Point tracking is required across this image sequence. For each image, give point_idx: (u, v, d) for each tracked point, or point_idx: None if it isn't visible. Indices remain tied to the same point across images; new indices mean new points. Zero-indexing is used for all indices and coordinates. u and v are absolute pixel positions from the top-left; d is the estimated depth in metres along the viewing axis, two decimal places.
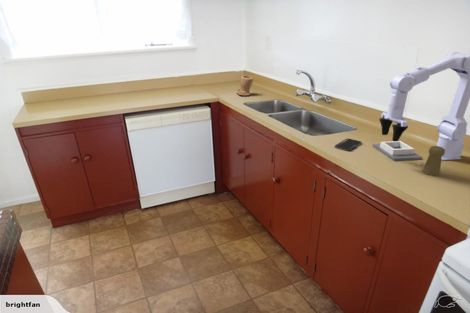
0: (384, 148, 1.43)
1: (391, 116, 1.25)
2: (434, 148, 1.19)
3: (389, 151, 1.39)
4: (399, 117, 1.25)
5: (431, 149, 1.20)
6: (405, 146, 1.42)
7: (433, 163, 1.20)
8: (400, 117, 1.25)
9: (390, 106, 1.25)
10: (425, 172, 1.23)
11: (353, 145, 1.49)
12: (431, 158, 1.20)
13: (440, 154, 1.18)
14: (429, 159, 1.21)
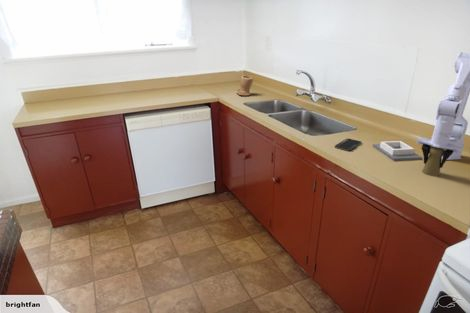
0: (384, 148, 1.43)
1: (442, 144, 1.16)
2: (434, 148, 1.19)
3: (389, 151, 1.39)
4: (448, 143, 1.17)
5: (431, 149, 1.20)
6: (405, 146, 1.42)
7: (433, 163, 1.20)
8: (448, 143, 1.17)
9: (440, 134, 1.15)
10: (425, 172, 1.23)
11: (353, 145, 1.49)
12: (431, 158, 1.20)
13: (440, 154, 1.18)
14: (429, 159, 1.21)
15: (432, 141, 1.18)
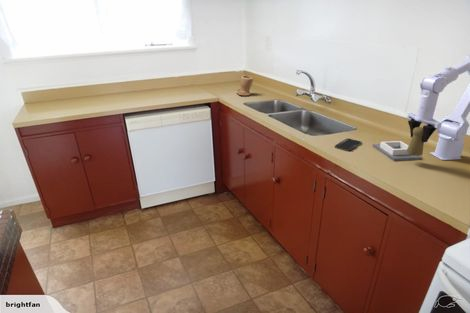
0: (384, 148, 1.43)
1: (423, 118, 1.23)
2: (416, 128, 1.27)
3: (389, 151, 1.39)
4: (430, 118, 1.22)
5: (413, 129, 1.28)
6: (405, 146, 1.42)
7: (413, 142, 1.28)
8: (431, 118, 1.23)
9: (421, 107, 1.22)
10: (407, 151, 1.31)
11: (353, 145, 1.49)
12: (412, 137, 1.28)
13: (420, 133, 1.25)
14: None
15: (416, 115, 1.26)
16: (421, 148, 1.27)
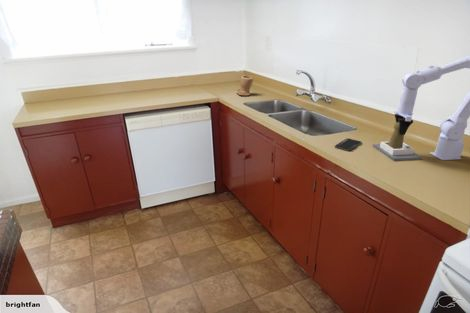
0: (384, 148, 1.43)
1: (400, 111, 1.34)
2: (397, 122, 1.38)
3: (389, 151, 1.39)
4: (407, 112, 1.32)
5: None
6: (405, 146, 1.42)
7: (392, 135, 1.39)
8: (408, 113, 1.32)
9: (400, 102, 1.34)
10: (388, 143, 1.43)
11: (353, 145, 1.49)
12: None
13: (396, 127, 1.37)
14: None
15: None
16: (398, 141, 1.38)
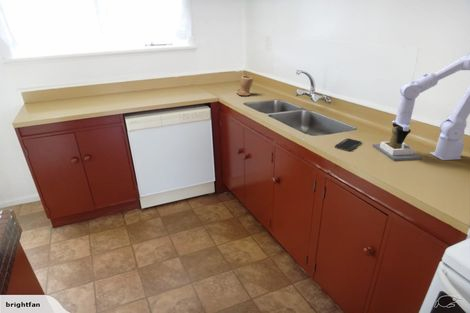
0: (384, 148, 1.43)
1: (397, 120, 1.36)
2: (394, 127, 1.39)
3: (389, 151, 1.39)
4: (405, 122, 1.34)
5: None
6: (405, 146, 1.42)
7: (390, 140, 1.40)
8: (406, 122, 1.34)
9: None
10: None
11: (353, 145, 1.49)
12: None
13: (394, 132, 1.38)
14: None
15: None
16: (396, 146, 1.39)
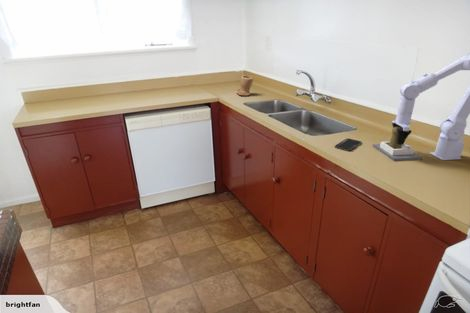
0: (384, 148, 1.43)
1: (397, 121, 1.36)
2: (394, 127, 1.39)
3: (389, 151, 1.39)
4: (405, 122, 1.34)
5: None
6: (405, 146, 1.42)
7: (390, 140, 1.40)
8: (406, 122, 1.34)
9: (398, 111, 1.36)
10: None
11: (353, 145, 1.49)
12: None
13: (394, 132, 1.37)
14: None
15: None
16: (396, 146, 1.39)
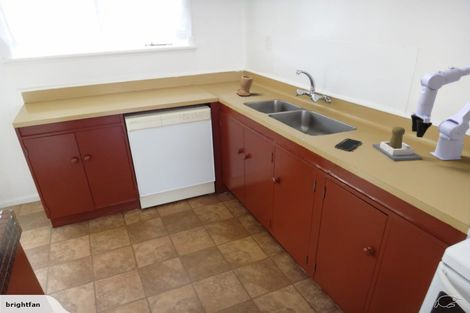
0: (384, 148, 1.43)
1: (417, 112, 1.30)
2: (394, 127, 1.39)
3: (389, 151, 1.39)
4: (425, 114, 1.28)
5: None
6: (405, 146, 1.42)
7: (390, 140, 1.40)
8: (426, 114, 1.28)
9: (418, 102, 1.29)
10: None
11: (353, 145, 1.49)
12: None
13: (394, 132, 1.37)
14: None
15: None
16: (396, 146, 1.39)
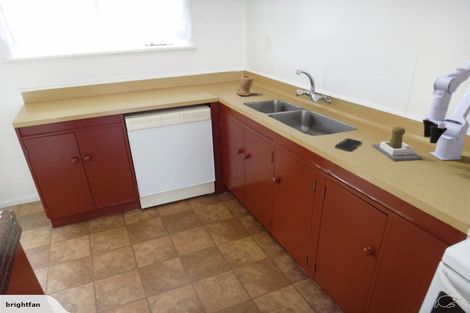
0: (384, 148, 1.43)
1: (431, 117, 1.23)
2: (394, 127, 1.39)
3: (389, 151, 1.39)
4: (439, 119, 1.22)
5: None
6: (405, 146, 1.42)
7: (390, 140, 1.40)
8: (441, 119, 1.22)
9: (431, 107, 1.23)
10: None
11: (353, 145, 1.49)
12: None
13: (394, 132, 1.37)
14: None
15: None
16: (396, 146, 1.39)
